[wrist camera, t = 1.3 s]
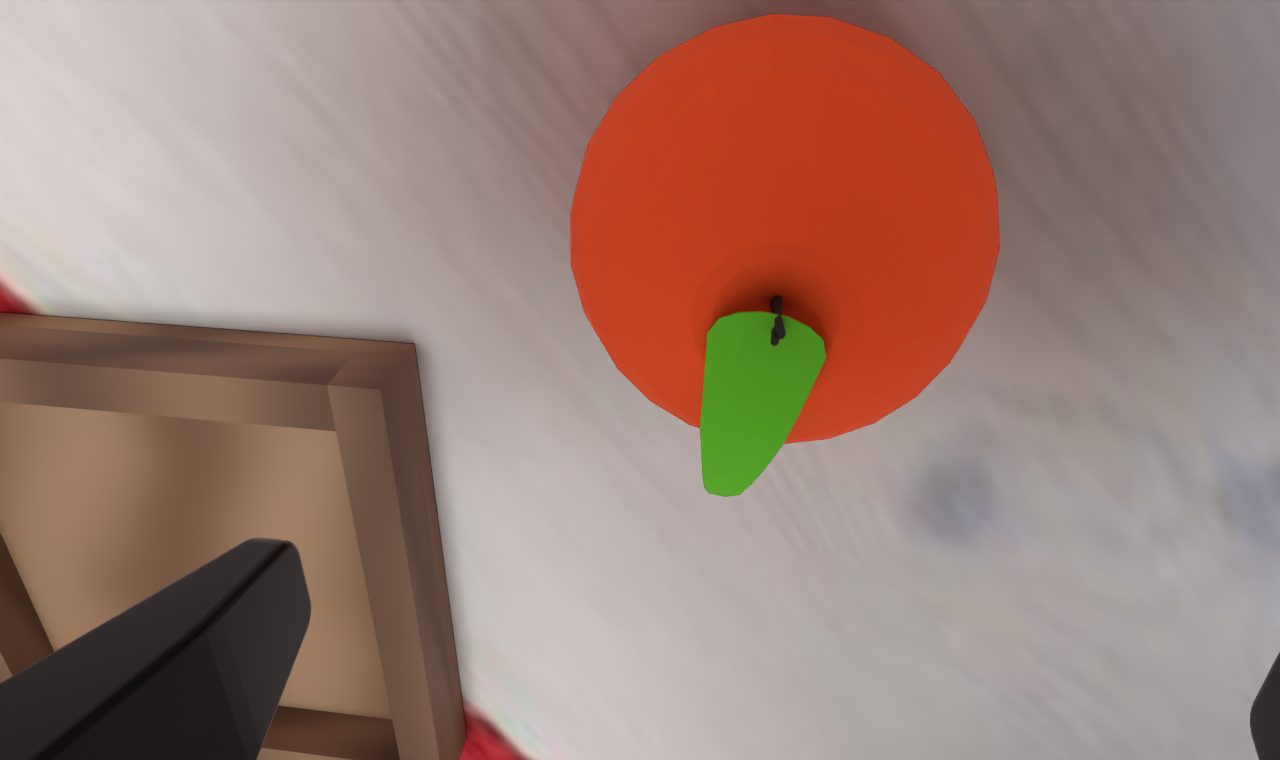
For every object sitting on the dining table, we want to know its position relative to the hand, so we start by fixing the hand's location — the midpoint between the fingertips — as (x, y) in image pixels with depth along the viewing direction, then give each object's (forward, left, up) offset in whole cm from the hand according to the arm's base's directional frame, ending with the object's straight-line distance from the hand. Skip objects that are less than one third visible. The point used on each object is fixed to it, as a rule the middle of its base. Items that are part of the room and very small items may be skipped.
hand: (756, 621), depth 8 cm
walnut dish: (+15, +11, -12) cm, 22 cm away
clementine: (0, 0, -12) cm, 12 cm away
